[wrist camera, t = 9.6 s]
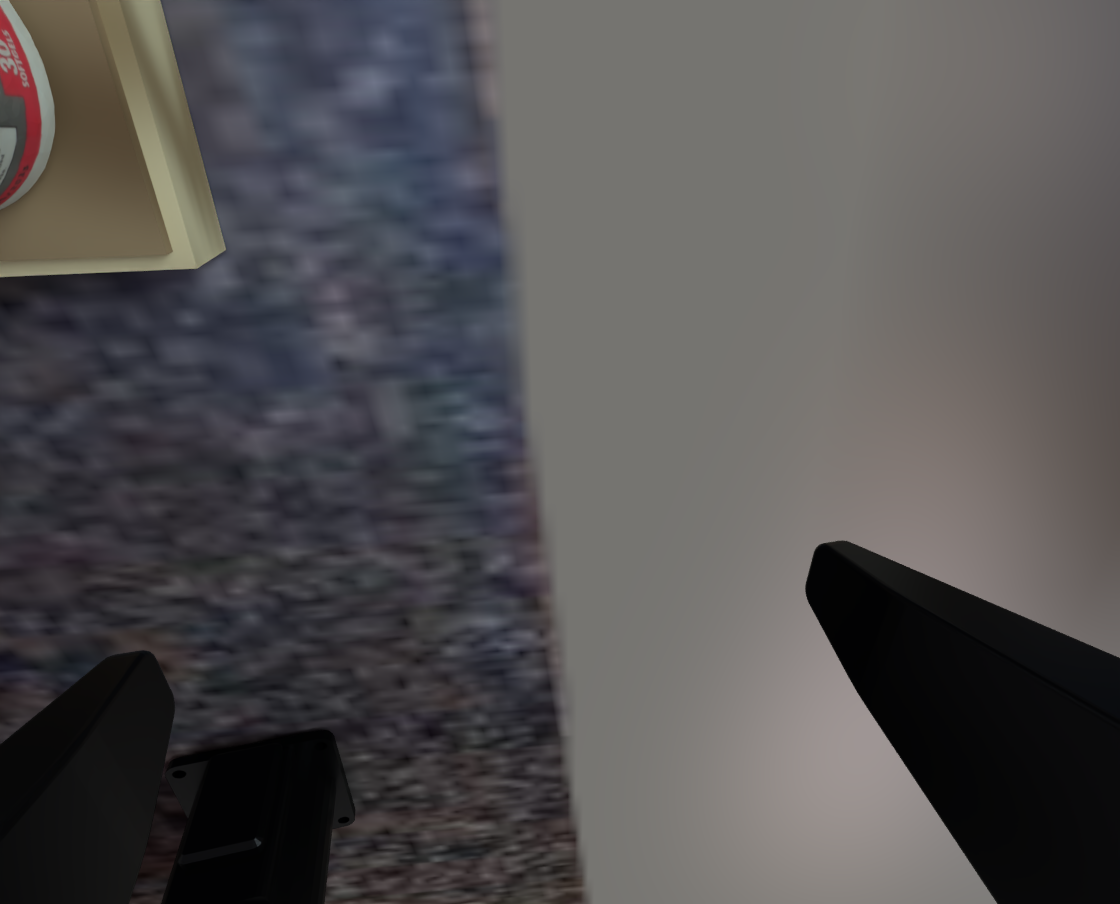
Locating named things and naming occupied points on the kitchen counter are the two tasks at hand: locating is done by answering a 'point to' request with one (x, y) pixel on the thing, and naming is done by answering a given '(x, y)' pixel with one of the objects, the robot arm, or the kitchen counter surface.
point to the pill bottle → (22, 109)
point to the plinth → (111, 150)
